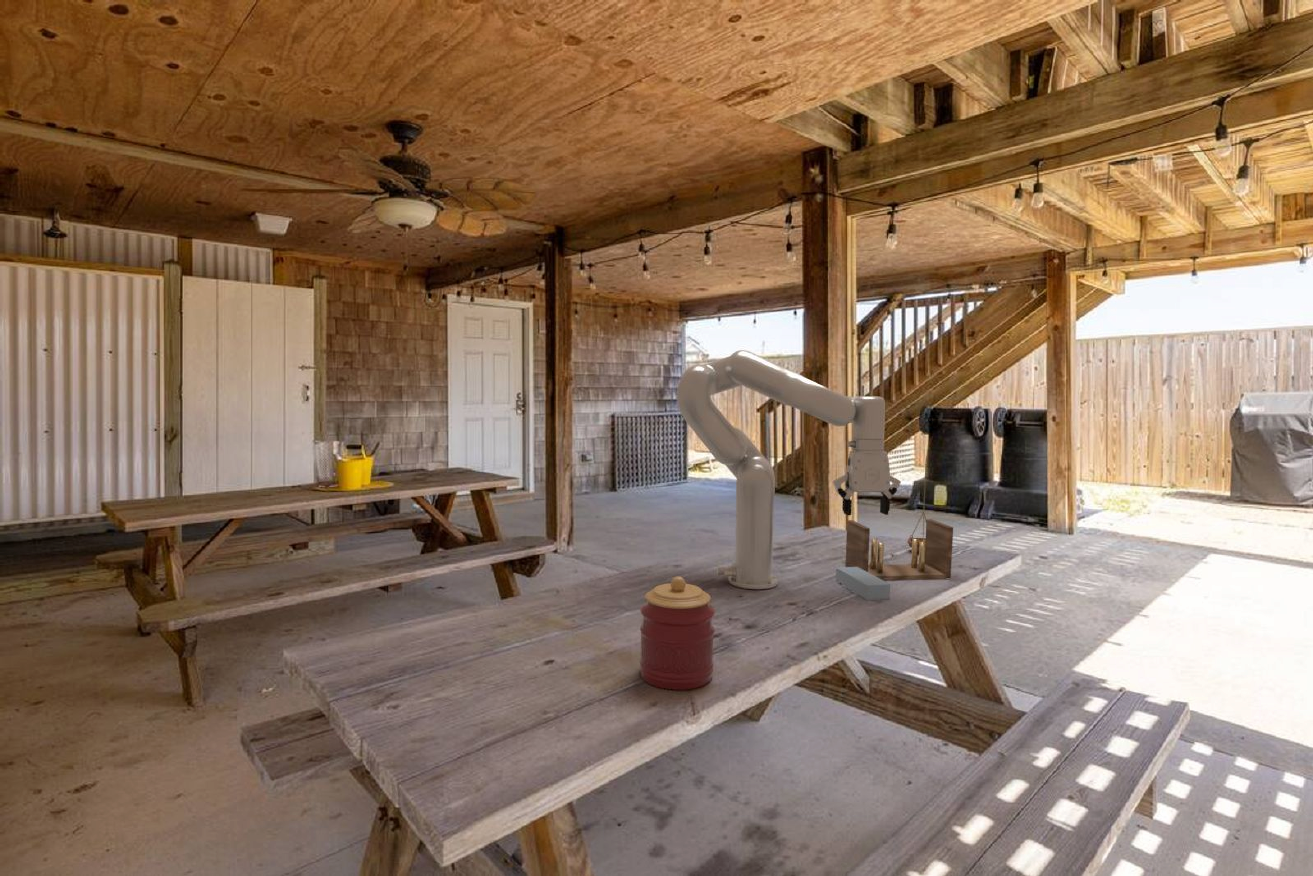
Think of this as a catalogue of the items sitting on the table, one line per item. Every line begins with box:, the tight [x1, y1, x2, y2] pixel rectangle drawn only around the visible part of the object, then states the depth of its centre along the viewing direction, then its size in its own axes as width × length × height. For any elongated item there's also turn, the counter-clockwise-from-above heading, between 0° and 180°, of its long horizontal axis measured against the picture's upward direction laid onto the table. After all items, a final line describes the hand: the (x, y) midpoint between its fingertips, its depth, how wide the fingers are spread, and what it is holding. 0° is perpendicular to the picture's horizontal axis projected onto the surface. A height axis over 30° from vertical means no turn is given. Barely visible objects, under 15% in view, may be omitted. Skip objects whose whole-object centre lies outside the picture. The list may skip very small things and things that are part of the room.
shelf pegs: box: [869, 538, 926, 573], centre depth 189 cm, size 14×6×8 cm, turn 98°
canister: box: [639, 576, 716, 691], centre depth 120 cm, size 13×13×18 cm
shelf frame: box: [845, 518, 954, 581], centre depth 188 cm, size 25×11×14 cm, turn 98°
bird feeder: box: [907, 456, 928, 552], centre depth 213 cm, size 9×9×30 cm
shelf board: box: [835, 566, 891, 601], centre depth 174 cm, size 16×6×4 cm, turn 13°
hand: (865, 514), depth 172 cm, fingers open, 9 cm apart
